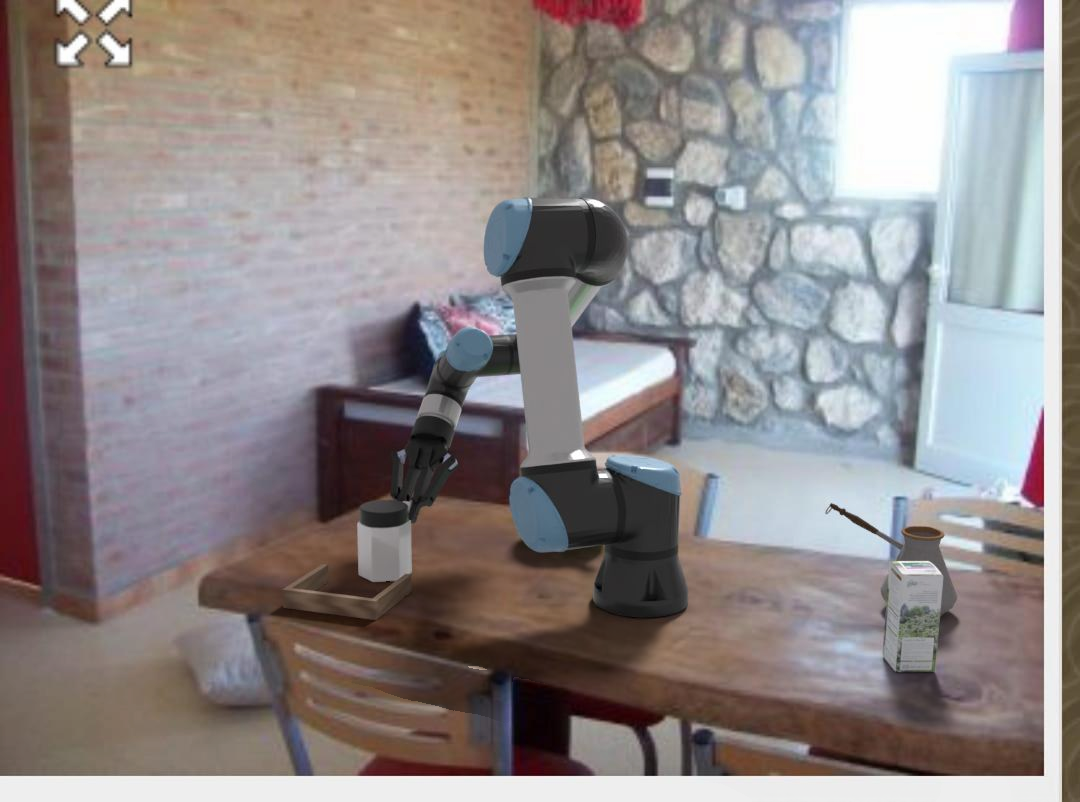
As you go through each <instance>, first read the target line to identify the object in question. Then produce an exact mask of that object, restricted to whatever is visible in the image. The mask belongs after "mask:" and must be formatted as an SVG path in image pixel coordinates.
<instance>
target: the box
mask: <svg viewBox="0 0 1080 802" xmlns="http://www.w3.org/2000/svg"><path fill="white" fill-rule="evenodd" d="M329 577H330V575H329V564H326V563H322V564H320V565H319V566H317V567H316V568H314V569H313V570H311V571H309V572H307V574H305V575H303V576H301V577H299V578H298V579H297V580H295V581H294V582H291V583H290V584H289V585H287V586H285V587H284V588H282V608H283V609H291V610H297V611H298V610H299V611H304V612H305V611H306V612H313V613H321V614H329V615H333V616H334V615H336V616H342V617H349V618H359V619H363V620H371V621H377V620H378V619H380V618H381V617H382V616H383V615H385V614H386V613H387V612H389V610H391V609H392V608H393V607H395V606H396V605H397V604H399V602H401V601H402V600H403V599H405V598H406V597H407V596H409V595H410V594H411V593H412V573H410V574H404V575H403V576H402V577H400V578H399V579H398V580H396V581H393V582H392V583H391V584H390V585H388V586H387V587H385V588H384V589H383V590H382V591H381V592H379V593H377V595H375V596H374V597H373V598H370V597H363V596H356V595H349V594H340V593H334V592H333V593H332V592H324V591H317V590H319V589H320V588H322V587H323V586H324V584H325V585H326V584H328V583H329V582H330V579H329ZM327 582H328V583H327ZM410 592H411V593H410ZM409 593H410V594H409ZM406 595H407V596H406ZM405 596H406V597H405ZM404 597H405V598H404Z"/></svg>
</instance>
